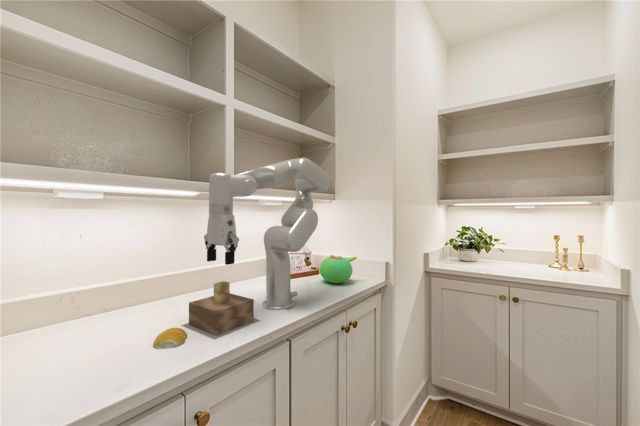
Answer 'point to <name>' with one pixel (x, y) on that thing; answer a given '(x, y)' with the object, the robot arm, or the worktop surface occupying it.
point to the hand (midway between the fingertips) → (220, 262)
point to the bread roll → (170, 338)
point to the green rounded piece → (336, 269)
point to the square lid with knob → (221, 311)
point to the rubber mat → (220, 334)
